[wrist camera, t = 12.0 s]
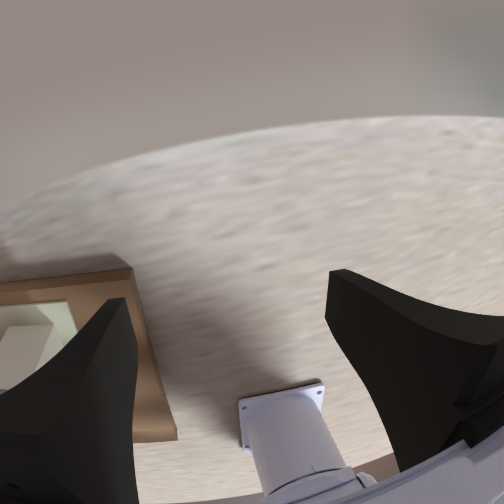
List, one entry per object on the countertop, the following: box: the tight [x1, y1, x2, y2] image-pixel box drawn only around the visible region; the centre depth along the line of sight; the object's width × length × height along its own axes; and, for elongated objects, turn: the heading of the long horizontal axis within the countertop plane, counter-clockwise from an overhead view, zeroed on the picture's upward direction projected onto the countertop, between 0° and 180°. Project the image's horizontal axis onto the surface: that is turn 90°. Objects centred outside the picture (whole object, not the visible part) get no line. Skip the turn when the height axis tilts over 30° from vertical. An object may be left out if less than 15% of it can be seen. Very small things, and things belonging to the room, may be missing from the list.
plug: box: [0, 324, 64, 395], centre depth 15 cm, size 4×4×7 cm
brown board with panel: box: [0, 268, 178, 443], centre depth 21 cm, size 17×16×2 cm
